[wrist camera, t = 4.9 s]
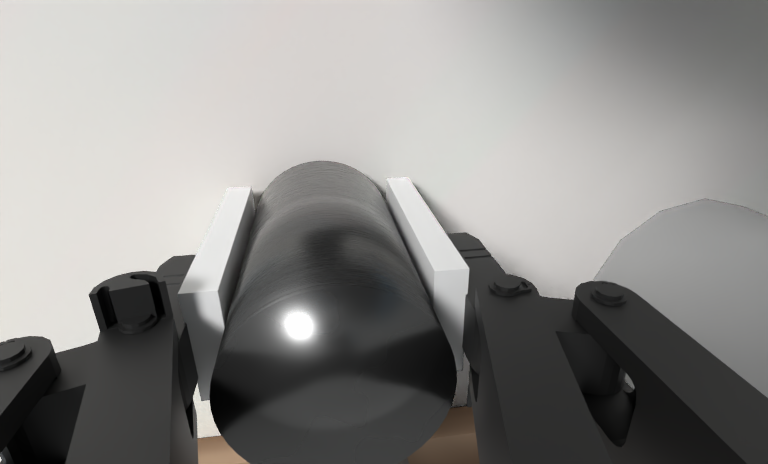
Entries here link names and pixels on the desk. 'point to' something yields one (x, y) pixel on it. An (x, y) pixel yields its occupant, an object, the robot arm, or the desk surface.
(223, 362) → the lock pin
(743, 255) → the cup
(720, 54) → the desk surface
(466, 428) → the dock
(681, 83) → the desk surface
